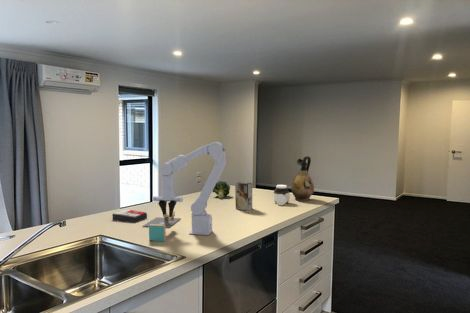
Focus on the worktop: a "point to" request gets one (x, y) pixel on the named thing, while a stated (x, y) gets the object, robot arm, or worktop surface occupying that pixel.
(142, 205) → the worktop surface
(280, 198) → the spread jar
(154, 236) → the tile
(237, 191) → the coffee box
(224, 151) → the robot arm
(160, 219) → the mat
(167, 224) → the beige long bar
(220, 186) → the vegetable
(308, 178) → the ceramic jug
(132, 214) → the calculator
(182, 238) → the worktop surface
